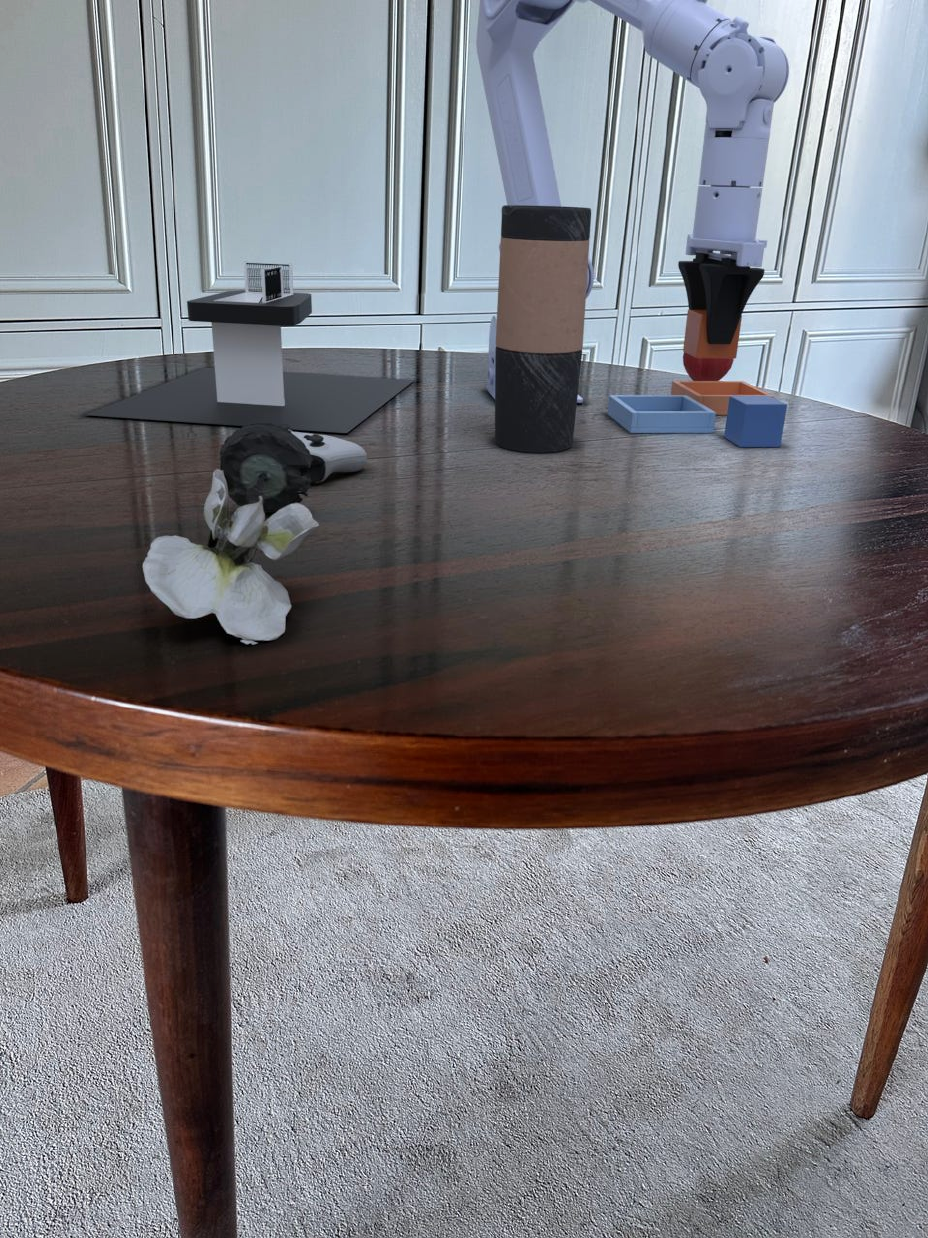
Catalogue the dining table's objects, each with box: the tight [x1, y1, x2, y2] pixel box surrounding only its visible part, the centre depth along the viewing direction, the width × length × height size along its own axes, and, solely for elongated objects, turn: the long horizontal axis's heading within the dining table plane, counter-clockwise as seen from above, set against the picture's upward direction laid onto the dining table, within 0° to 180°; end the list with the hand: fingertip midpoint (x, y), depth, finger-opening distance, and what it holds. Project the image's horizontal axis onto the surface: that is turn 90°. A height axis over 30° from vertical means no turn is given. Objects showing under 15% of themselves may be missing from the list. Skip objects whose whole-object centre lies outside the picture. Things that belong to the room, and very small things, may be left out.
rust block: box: [682, 309, 743, 360], centre depth 96 cm, size 4×4×4 cm
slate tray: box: [606, 394, 717, 434], centre depth 99 cm, size 8×8×2 cm
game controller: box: [278, 424, 368, 484], centre depth 79 cm, size 10×5×6 cm
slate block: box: [723, 396, 788, 448], centre depth 93 cm, size 4×4×4 cm
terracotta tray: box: [670, 380, 775, 416], centre depth 108 cm, size 8×8×2 cm
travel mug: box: [494, 204, 592, 454], centre depth 86 cm, size 8×8×20 cm
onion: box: [682, 352, 735, 381], centre depth 116 cm, size 6×6×8 cm
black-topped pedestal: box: [85, 260, 415, 434], centre depth 103 cm, size 28×26×13 cm
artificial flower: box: [142, 423, 320, 646], centre depth 58 cm, size 9×22×10 cm, turn 179°
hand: (710, 340), depth 96 cm, fingers closed on rust block, 4 cm apart
